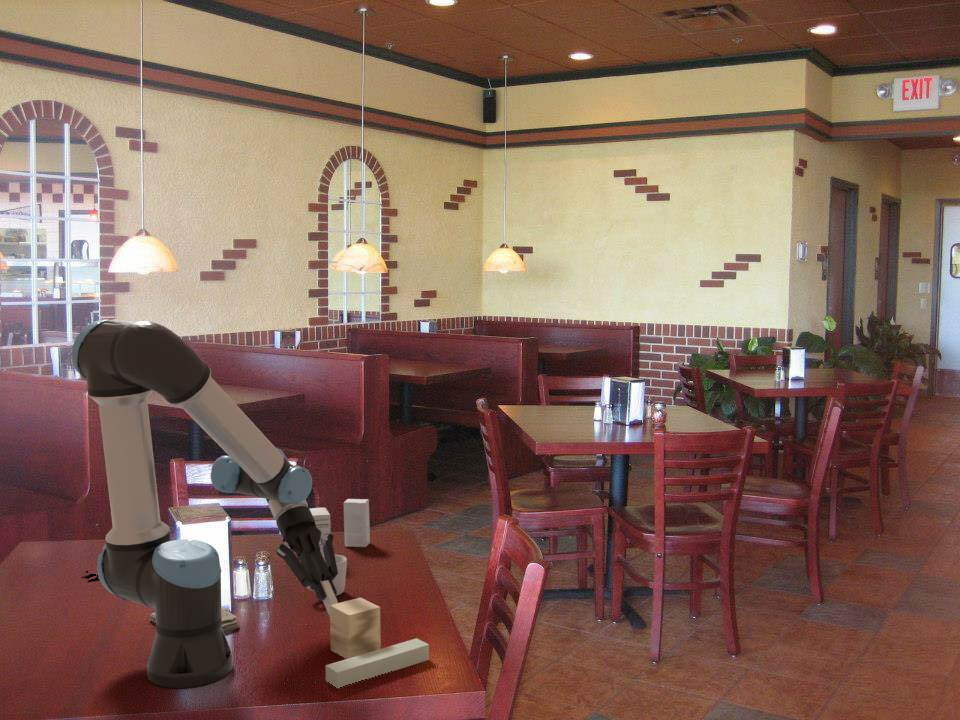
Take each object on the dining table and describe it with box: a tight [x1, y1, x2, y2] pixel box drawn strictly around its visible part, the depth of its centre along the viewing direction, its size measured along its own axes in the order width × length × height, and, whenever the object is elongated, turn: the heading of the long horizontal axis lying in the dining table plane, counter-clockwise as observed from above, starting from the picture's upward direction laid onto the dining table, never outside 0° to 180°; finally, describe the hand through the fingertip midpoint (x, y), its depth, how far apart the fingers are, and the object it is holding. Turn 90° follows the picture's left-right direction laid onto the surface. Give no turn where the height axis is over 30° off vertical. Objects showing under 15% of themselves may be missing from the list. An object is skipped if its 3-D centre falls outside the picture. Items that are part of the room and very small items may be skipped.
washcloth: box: [148, 606, 241, 634], centre depth 205 cm, size 12×18×3 cm, turn 48°
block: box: [329, 597, 382, 659], centre depth 191 cm, size 7×7×9 cm
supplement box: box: [309, 507, 332, 555], centre depth 248 cm, size 7×7×13 cm
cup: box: [306, 553, 348, 597], centre depth 222 cm, size 11×8×8 cm
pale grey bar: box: [325, 637, 430, 689], centre depth 182 cm, size 20×4×3 cm, turn 129°
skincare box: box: [343, 498, 371, 548], centre depth 261 cm, size 6×4×12 cm
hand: (334, 612), depth 198 cm, fingers closed
